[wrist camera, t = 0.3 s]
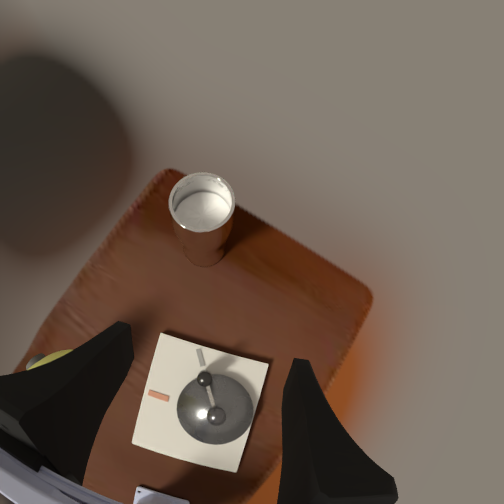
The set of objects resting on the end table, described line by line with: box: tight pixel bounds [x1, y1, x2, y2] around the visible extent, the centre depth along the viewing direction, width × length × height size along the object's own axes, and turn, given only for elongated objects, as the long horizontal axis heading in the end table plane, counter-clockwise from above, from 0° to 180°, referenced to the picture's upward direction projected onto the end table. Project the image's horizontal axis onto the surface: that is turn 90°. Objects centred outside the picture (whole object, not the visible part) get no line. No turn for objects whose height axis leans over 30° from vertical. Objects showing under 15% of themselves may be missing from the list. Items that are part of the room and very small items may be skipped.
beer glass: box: [169, 172, 235, 267], centre depth 36 cm, size 7×7×15 cm
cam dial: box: [177, 370, 253, 445], centre depth 34 cm, size 11×10×4 cm
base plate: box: [132, 333, 269, 472], centre depth 36 cm, size 17×15×1 cm
